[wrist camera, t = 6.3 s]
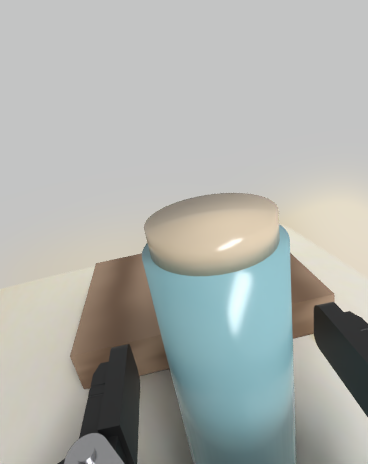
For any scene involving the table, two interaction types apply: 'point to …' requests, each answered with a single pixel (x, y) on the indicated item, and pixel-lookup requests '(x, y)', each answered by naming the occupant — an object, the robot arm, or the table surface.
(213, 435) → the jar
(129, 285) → the stand
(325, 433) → the table surface
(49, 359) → the table surface
